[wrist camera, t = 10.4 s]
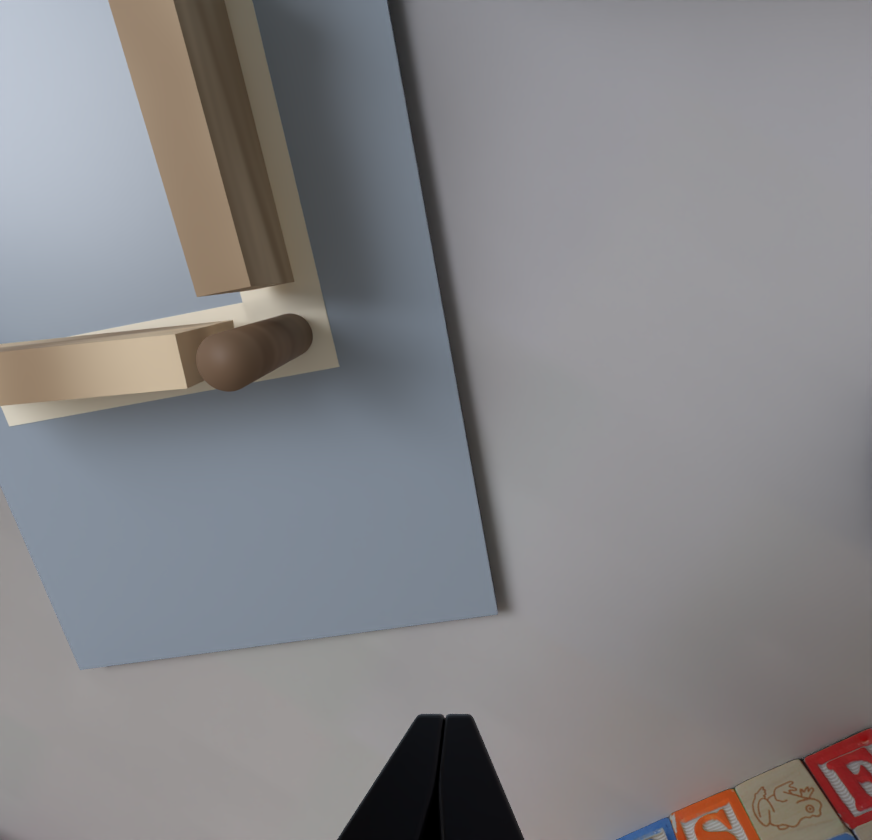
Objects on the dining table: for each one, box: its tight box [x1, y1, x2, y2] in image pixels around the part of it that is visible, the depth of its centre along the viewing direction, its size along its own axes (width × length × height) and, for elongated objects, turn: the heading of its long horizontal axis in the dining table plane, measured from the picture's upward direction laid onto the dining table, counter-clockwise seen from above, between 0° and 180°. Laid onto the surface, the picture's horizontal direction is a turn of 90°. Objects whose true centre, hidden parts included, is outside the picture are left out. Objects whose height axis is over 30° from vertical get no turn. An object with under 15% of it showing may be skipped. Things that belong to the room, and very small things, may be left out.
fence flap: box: [0, 320, 234, 406], centre depth 15 cm, size 10×1×5 cm, turn 96°
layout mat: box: [0, 0, 498, 670], centre depth 18 cm, size 17×23×1 cm
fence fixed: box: [108, 0, 313, 392], centre depth 14 cm, size 1×12×6 cm, turn 11°
